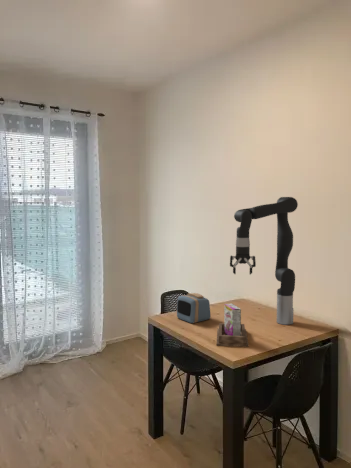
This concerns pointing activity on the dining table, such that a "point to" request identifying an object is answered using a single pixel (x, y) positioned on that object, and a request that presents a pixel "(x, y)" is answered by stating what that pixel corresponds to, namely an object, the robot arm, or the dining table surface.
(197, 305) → the alarm clock
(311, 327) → the dining table surface
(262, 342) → the dining table surface
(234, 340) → the walnut slot stand
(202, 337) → the dining table surface
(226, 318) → the candy bar box
